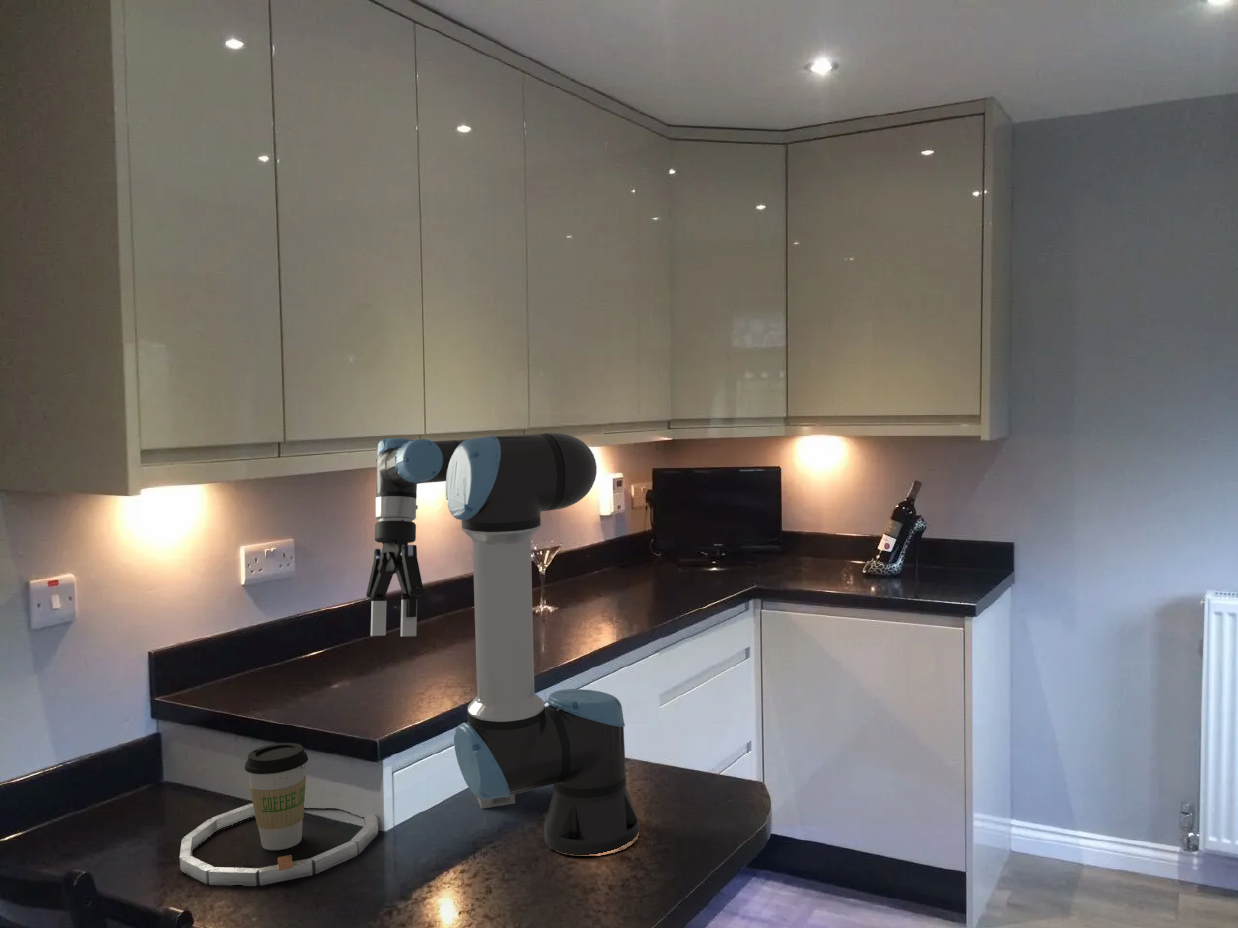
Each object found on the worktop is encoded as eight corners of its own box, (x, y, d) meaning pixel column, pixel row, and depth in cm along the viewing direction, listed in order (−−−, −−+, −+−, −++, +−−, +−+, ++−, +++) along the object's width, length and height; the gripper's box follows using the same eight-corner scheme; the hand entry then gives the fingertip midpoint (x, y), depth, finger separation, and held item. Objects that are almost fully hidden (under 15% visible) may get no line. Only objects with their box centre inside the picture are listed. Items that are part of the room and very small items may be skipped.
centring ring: (389, 861, 154) (388, 843, 154) (176, 904, 143) (175, 885, 143) (364, 794, 182) (363, 778, 182) (185, 825, 172) (184, 809, 171)
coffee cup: (293, 856, 157) (287, 762, 157) (237, 853, 159) (231, 761, 158) (324, 830, 167) (318, 741, 166) (270, 828, 169) (264, 740, 168)
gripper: (443, 516, 180) (441, 636, 177) (387, 527, 200) (384, 634, 197) (405, 514, 176) (402, 636, 172) (351, 525, 196) (347, 635, 192)
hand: (392, 636), depth 185 cm, fingers open, 13 cm apart
